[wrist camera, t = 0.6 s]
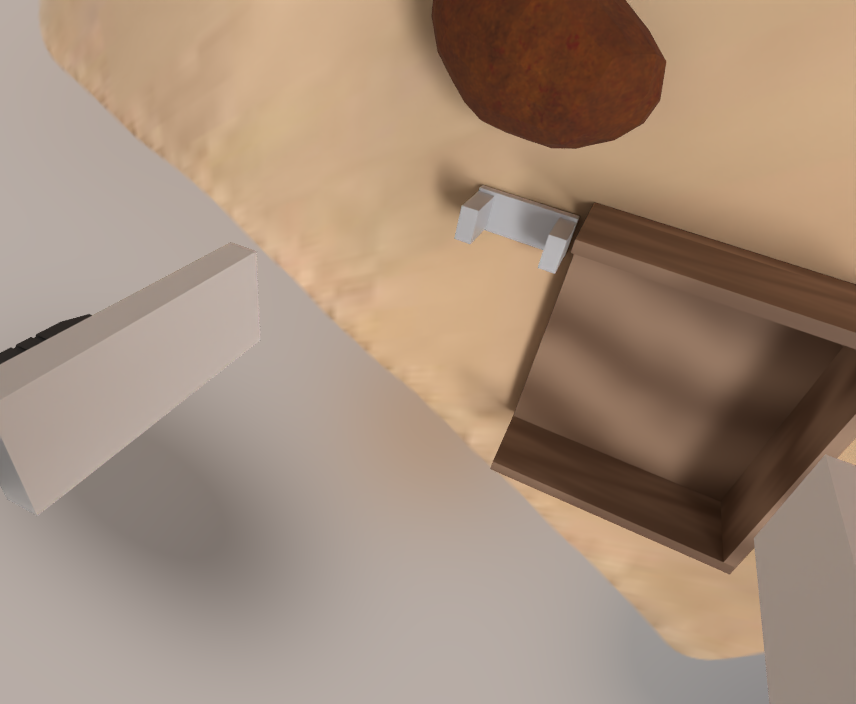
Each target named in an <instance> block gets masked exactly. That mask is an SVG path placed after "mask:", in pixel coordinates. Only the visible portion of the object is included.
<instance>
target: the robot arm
mask: <svg viewBox="0 0 856 704" xmlns="http://www.w3.org/2000/svg"><path fill="white" fill-rule="evenodd" d="M259 341H260V322H259V300H258V276H257V255H256V251H254V250H251V249H249V248H246V247H243V246H240V245H237V244H235V243H231V242H230V243H228V244H227V245H225V246H223V247H221V248H219V249H217V250H215V251H213V252H211V253H210V254H208V255H206V256H204V257H202V258H200V259H198V260H196V261H195V262H193V263H191V264H189V265H187V266H185V267H183V268H181V269H179V270H177V271H176V272H174V273H172V274H170V275H168V276H166V277H164V278H162V279H160V280H159V281H157V282H155V283H153V284H151V285H149V286H148V287H146V288H143V289H142V290H140V291H138V292H136V293H134V294H132V295H131V296H128V297H126V298H125V299H123V300H121V301H119V302H117V303H115V304H113V305H111V306H109V307H108V308H106V309H104V310H102V311H100V312H98V313H96V314H94V315H90V314H88V315H84V316H80V317H77V318H73V319H70V320H66V321H62V322H60V323H58V324H56V325H54V326H52V327H50V328H48V329H46V330H44V331H42V332H40V333H38V334H36V337H35V338H32V337H30V338H28V339H26V340H25V341H23V342H21V343H19V344H17V345H16V347H15V348H14V349H13V348H9V349H7V350H5V351H3V352H1V353H0V486H1V488H2V490H3V492H4V494H5V496H6V498H7V499H8V500H9V501H11V502H13V503H15V504H17V505H18V506H20V507H22V508H24V509H26V510H28V511H29V512H31V513H33V514H35V515H36V516H37V515H39V514H40V513H42V512H43V511H44V510H45V509H47V508H48V507H49V506H50V505H52V504H53V503H54V502H56V501H57V500H58V499H59V498H60V497H62V496H63V495H64V494H66V493H67V492H68V491H70V490H71V489H72V488H73V487H75V486H76V485H77V484H78V483H80V482H81V481H82V480H84V479H85V478H86V477H87V476H89V475H90V474H91V473H92V472H94V471H95V470H96V469H98V468H99V467H100V466H101V465H103V464H104V463H105V462H106V461H108V460H109V459H110V458H111V457H113V456H114V455H115V454H117V453H118V452H119V451H120V450H122V449H123V448H124V447H125V446H127V445H128V444H129V443H131V442H132V441H133V440H134V439H136V438H137V437H138V436H139V435H141V434H142V433H143V432H144V431H146V430H147V429H148V428H149V427H151V426H152V425H153V424H155V423H156V422H157V421H158V420H160V419H161V418H162V417H164V416H165V415H166V414H167V413H168V412H170V411H171V410H172V409H174V408H175V407H176V406H178V405H179V404H180V403H181V402H183V401H184V400H185V399H186V398H188V397H189V396H190V395H191V394H193V393H194V392H195V391H197V390H198V389H199V388H200V387H202V386H203V385H204V384H205V383H207V382H208V381H209V380H211V379H212V378H213V377H214V376H216V375H217V374H218V373H219V372H221V371H222V370H223V369H225V368H226V367H227V366H228V365H230V364H231V363H232V362H233V361H235V360H236V359H237V358H238V357H240V356H241V355H242V354H243V353H245V352H246V351H247V350H248V349H250V348H251V347H252V346H254V345H255V344H256V343H258V342H259ZM754 546H755V556H756V567H757V577H758V588H759V598H760V609H761V619H762V630H763V640H764V651H765V661H766V672H767V682H768V692H769V703H770V704H856V465H853V464H851V463H848V462H845V461H842V460H839V459H837V458H834V457H831V456H828V455H824V457H823V458H822V459H821V460H820V461H819V462H818V464H817V465H816V466H815V467H814V468H813V469H812V471H811V472H810V473H809V474H808V475H807V477H806V478H805V479H804V480H803V481H802V482H801V484H800V485H799V486H798V487H797V488H796V489H795V491H794V492H793V493H792V494H791V495H790V496H789V498H788V499H787V500H786V501H785V502H784V503H783V505H782V506H781V507H780V508H779V509H778V511H777V512H776V513H775V514H774V515H773V516H772V518H771V519H770V520H769V521H768V522H767V523H766V525H765V526H764V527H763V528H762V529H761V530H760V532H759V533H758V534H757V535H756V536H755V538H754Z"/></svg>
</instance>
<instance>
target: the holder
mask: <svg viewBox="0 0 856 704" xmlns="http://www.w3.org/2000/svg"><path fill="white" fill-rule="evenodd" d="M571 253H572V254H574V256H573V258H572V261H571V264H570V266H569V269H568V272H567V274H566V277H565V280H564V282H563V285H562V288H561V290H560V293H559V296H558V298H557V301H556V304H555V306H554V309H553V312H552V314H551V317H550V319H549V322H548V325H547V327H546V330H545V333H544V335H543V338H542V341H541V343H540V346H539V349H538V351H537V354H536V357H535V359H534V362H533V365H532V367H531V370H530V373H529V375H528V378H527V381H526V383H525V386H524V389H523V391H522V394H521V397H520V399H519V402H518V404H517V407H516V410H515V412H514V415H513V417H512V420H511V422H510V424H509V426H508V429H507V431H506V433H505V436H504V438H503V440H502V442H501V445H500V447H499V449H498V451H497V454H496V456H495V458H494V460H493V463H492V465H491V468H490V469H492V470H494V471H496V472H499V473H501V474H503V475H505V476H508V477H510V478H512V479H514V480H517V481H519V482H521V483H524V484H526V485H528V486H530V487H533V488H535V489H537V490H539V491H542V492H544V493H546V494H549V495H551V496H553V497H555V498H558V499H560V500H562V501H564V502H567V503H569V504H571V505H573V506H576V507H578V508H580V509H583V510H585V511H587V512H589V513H592V514H594V515H596V516H598V517H601V518H603V519H605V520H608V521H610V522H612V523H614V524H617V525H619V526H621V527H623V528H626V529H628V530H630V531H632V532H635V533H637V534H639V535H642V536H644V537H646V538H648V539H651V540H653V541H655V542H657V543H660V544H662V545H664V546H667V547H669V548H671V549H673V550H676V551H678V552H680V553H682V554H685V555H687V556H689V557H692V558H694V559H696V560H698V561H701V562H703V563H705V564H707V565H710V566H712V567H714V568H716V569H719V570H721V571H723V572H726V573H728V574H731V572H732V571H733V570H734V569H735V568H736V567H737V566H738V565H739V564H740V563H741V562H742V561H743V559H744V558H745V557H746V556H747V555H748V554H749V553H750V552H751V551H752V550H753V549H754V548H755V546H754V538H755V536H756V535H757V534H758V533H759V532H760V530H761V529H762V528H763V527H764V526H765V525H766V523H767V522H768V521H769V520H770V519H771V518H772V516H773V515H774V514H775V513H776V512H777V511H778V509H779V508H780V507H781V506H782V505H783V503H784V502H785V501H786V500H787V499H788V498H789V496H790V495H791V494H792V493H793V492H794V491H795V489H796V488H797V487H798V486H799V485H800V484H801V482H802V481H803V480H804V479H805V478H806V477H807V475H808V474H809V473H810V472H811V471H812V469H813V468H814V467H815V466H816V465H817V464H818V462H819V461H820V460H821V459H822V458H823V457H824V455H828V456H831V457H834V458H838V457H839V456H840V455H841V453H842V452H843V451H844V450H845V449H846V448H847V447H848V446H849V445H850V444H851V443H852V442H853V440H854V439H855V438H856V285H855V284H852V283H849V282H846V281H843V280H839V279H836V278H833V277H830V276H827V275H824V274H820V273H817V272H814V271H811V270H808V269H805V268H801V267H798V266H795V265H792V264H789V263H786V262H782V261H779V260H776V259H773V258H770V257H766V256H763V255H760V254H757V253H754V252H751V251H747V250H744V249H741V248H738V247H735V246H732V245H728V244H725V243H722V242H719V241H716V240H713V239H709V238H706V237H703V236H700V235H697V234H693V233H690V232H687V231H684V230H681V229H678V228H674V227H671V226H668V225H665V224H662V223H659V222H655V221H652V220H649V219H646V218H643V217H640V216H636V215H633V214H630V213H627V212H624V211H621V210H617V209H614V208H611V207H608V206H605V205H601V204H598V203H595V202H594V204H593V206H592V208H591V210H590V212H589V214H588V216H587V218H586V220H585V222H584V224H583V226H582V228H581V230H580V232H579V234H578V236H577V237H576V239H575V242H574V245H573V247H572V250H571Z"/></svg>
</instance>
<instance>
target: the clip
mask: <svg viewBox="0 0 856 704" xmlns="http://www.w3.org/2000/svg"><path fill="white" fill-rule="evenodd" d="M579 217H580V216H578V215H575V214H571V213H568V212H565V211H562V210H559V209H556V208H553V207H550V206H547V205H544V204H540V203H537V202H534V201H531V200H528V199H525V198H522V197H519V196H516V195H513V194H509V193H506V192H503V191H500V190H497V189H494V188H491V187H488V186H485V185H482V186H481V187H480V188H479V191H478V192H477V193H476V194H474V195H473V196H472V197H471V198H470V199H469V200H468V201H466V202H465V203H464V204H463V205H462V207H461V211H460V216H459V220H458V224H457V229H456V233H455V238H454V239H457V240H460V241H462V242H465V243H468V244H471V243H472V242H473V241H474V240H475V239H476V238H477V237H478V236H479V235H480V234H481V233H482V231H483V230H486V231H489V232H492V233H495V234H498V235H501V236H504V237H507V238H509V239H512V240H515V241H518V242H521V243H524V244H527V245H530V246H533V247H536V248H539V249H542V250H543V253H542V256H541V259H540V262H539V265H538V268H540V269H543V270H545V271H548V272H551V273H554V274H555V273H556V271H557V269H558V267H559V265H560V263H561V261H562V259H563V258H564V257H565V255H566V252H567V250H568V247H569V244H570V241H571V239H572V236H573V233H574V231H575V228H576V225H577V222H578V220H579Z"/></svg>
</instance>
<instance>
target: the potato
mask: <svg viewBox="0 0 856 704" xmlns="http://www.w3.org/2000/svg"><path fill="white" fill-rule="evenodd" d="M432 20H433V26H434V32H435V38H436V44H437V50H438V53H439V55H440V57H441V59H442V61H443V63H444V65H445V67H446V69H447V71H448V73H449V75H450V77H451V79H452V81H453V83H454V84H455V86H456V88H457V90H458V91H459V93H460V95H461V97H462V98H463V100H464V102H465V103H466V104H467V105H468V106H469V108H470V109H471V110H472V111H473V112H474V113H475V114H476V115H477V116H478V118H479V119H481V120H482V121H484V122H486V123H488V124H490V125H492V126H494V127H496V128H498V129H500V130H502V131H504V132H507V133H509V134H512V135H515V136H518V137H520V138H523V139H526V140H529V141H532V142H535V143H538V144H541V145H544V146H547V147H550V148H575V149H576V148H580V147H585V146H589V145H594V144H598V143H603V142H608V141H612V140H615V139H617V138H619V137H621V136H622V135H624V134H626V133H628V132H629V131H631V130H633V129H634V128H636V127H638V126H640V125H641V124H643V123H644V122H645V121H646V119H647V118H648V116H649V115H650V114H651V112H652V111H653V110H654V108H655V107H656V105H657V104H658V103H659V101H660V97H661V91H662V85H663V79H664V73H665V66H666V60H665V59H664V57H663V55H662V53H661V51H660V49H659V48H658V46H657V44H656V42H655V40H654V38H653V37H652V35H651V33H650V31H649V30H648V28H647V27H646V26H645V25H644V23H643V22H642V21H641V19H640V18H639V17H638V16H637V14H636V13H635V12H634V11H633V9H632V8H631V7H630V5H629V4H628V3H627V1H626V0H433V7H432Z"/></svg>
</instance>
